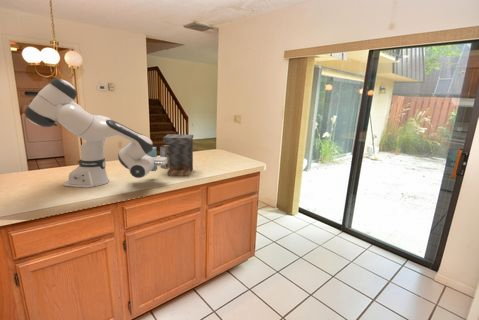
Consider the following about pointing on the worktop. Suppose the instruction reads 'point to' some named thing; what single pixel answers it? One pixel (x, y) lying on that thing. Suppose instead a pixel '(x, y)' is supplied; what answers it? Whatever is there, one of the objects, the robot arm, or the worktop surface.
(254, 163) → the worktop surface
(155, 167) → the peg
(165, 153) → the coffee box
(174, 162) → the dark grey upright block
